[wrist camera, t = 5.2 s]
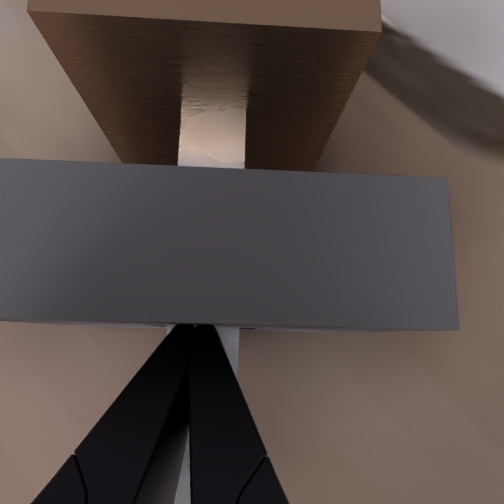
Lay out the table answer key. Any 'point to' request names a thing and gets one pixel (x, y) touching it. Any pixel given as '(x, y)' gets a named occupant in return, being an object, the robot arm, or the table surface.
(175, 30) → the tan rectangular block
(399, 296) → the gray concrete brick
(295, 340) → the table surface
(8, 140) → the table surface
